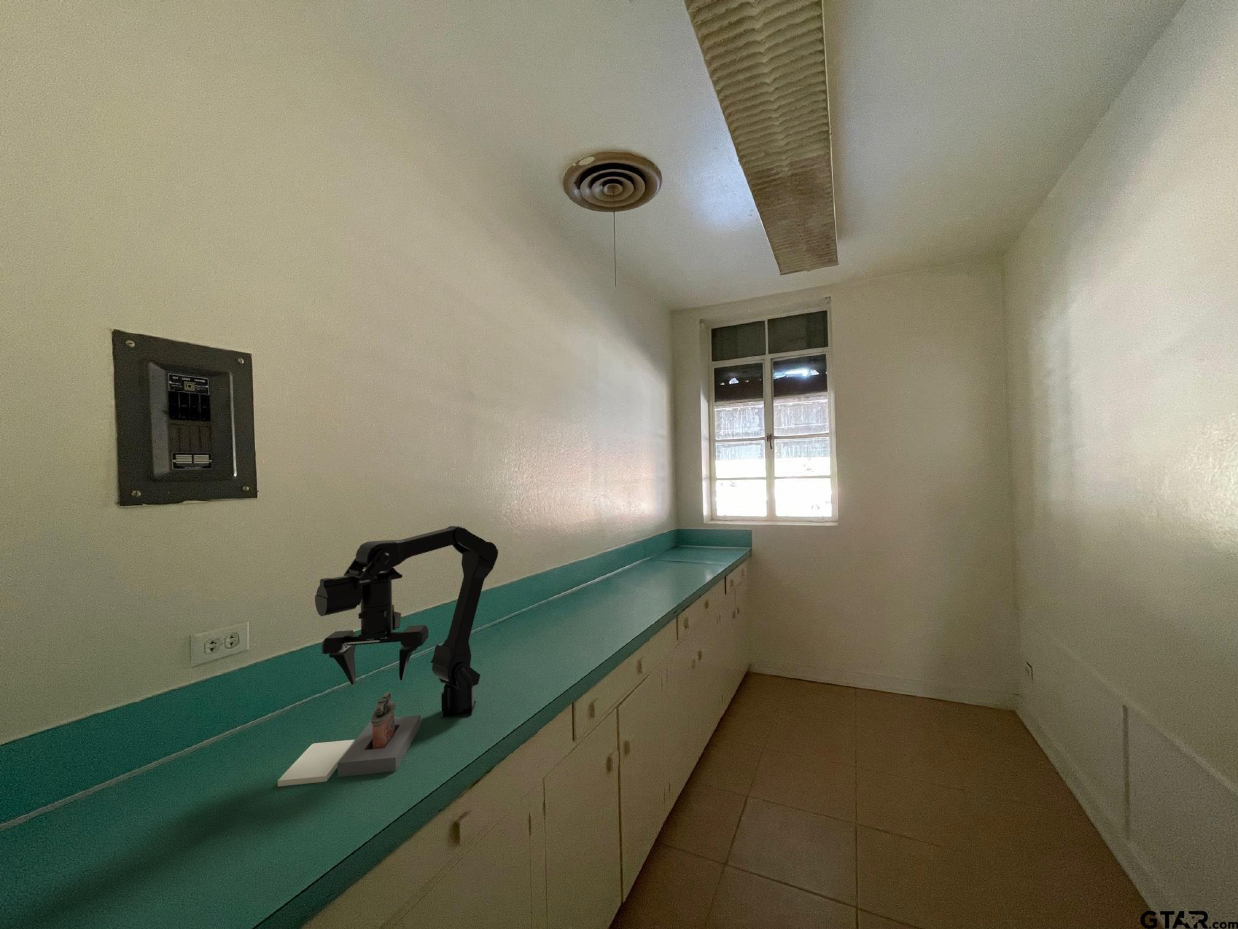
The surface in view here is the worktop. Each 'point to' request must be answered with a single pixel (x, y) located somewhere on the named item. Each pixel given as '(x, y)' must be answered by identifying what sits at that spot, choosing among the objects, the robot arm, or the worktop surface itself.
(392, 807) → the worktop surface
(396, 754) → the grey rectangular frame
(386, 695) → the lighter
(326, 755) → the rubber mat
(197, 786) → the worktop surface
